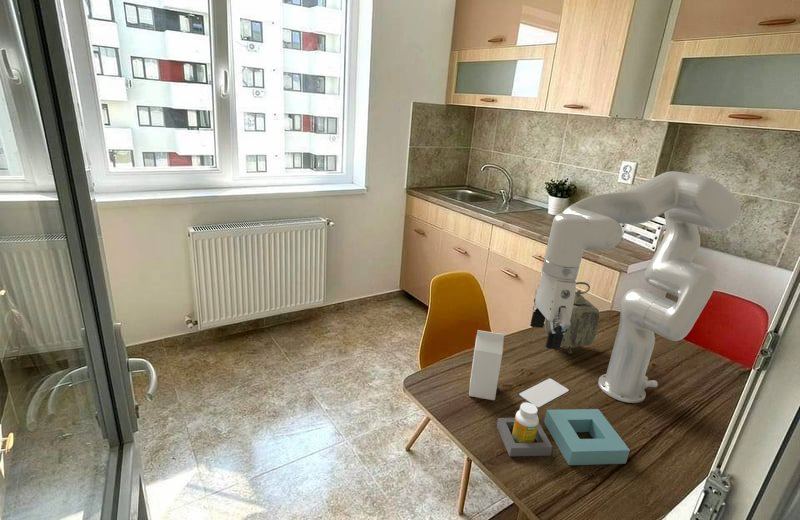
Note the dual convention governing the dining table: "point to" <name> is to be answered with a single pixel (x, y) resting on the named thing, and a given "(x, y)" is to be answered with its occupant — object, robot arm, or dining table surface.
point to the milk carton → (486, 365)
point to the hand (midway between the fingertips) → (544, 336)
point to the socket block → (586, 451)
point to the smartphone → (543, 392)
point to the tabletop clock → (579, 322)
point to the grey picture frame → (523, 448)
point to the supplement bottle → (525, 424)
